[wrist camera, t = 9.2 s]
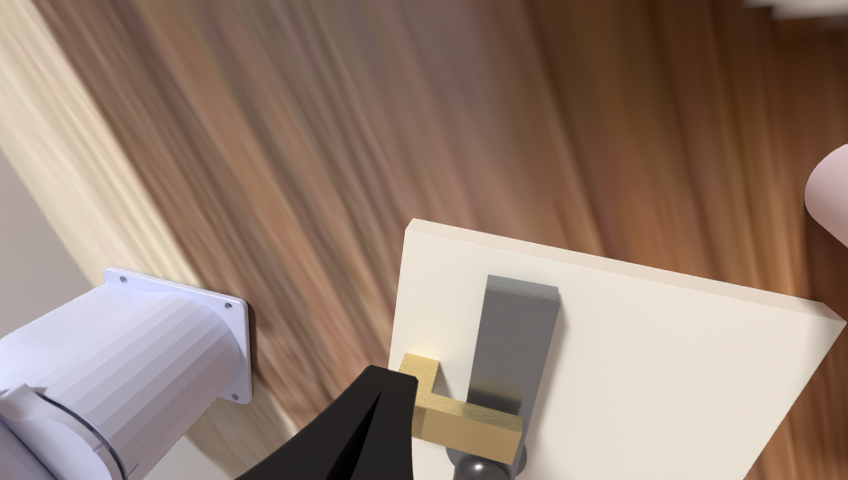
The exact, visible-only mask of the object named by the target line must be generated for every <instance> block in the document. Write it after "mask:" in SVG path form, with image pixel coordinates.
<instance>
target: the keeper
mask: <svg viewBox="0 0 848 480" xmlns="http://www.w3.org/2000/svg"><path fill="white" fill-rule="evenodd" d="M438 367H439V361H437V360H433V359H429V358H425V357H422V356H418V355H414V354H410V353H405V355H404V358H403V360H402V363H401V365H400V367H399V370H398V372H400V373H404V374H408V375H412V376H415V377H416V378H417V379H418V381H419V383H418V389H417V395H416V401H415V407H414V413H413V419H412V437H413V438H417V439H421V440H424V441H428V442H431V443H435V444H438V445H442V446H445V447H449V448H452V449H456V450H459V451H463V452H467V453H470V454H474V455H477V456H481V457H484V458H488V459H491V460H495V461H498V462H502V463H505V464H509V465H512V463H513V460H514V457H515V454H516V451H517V448H518V444H519V441H520V438H521V435H522V417H519V416H516V415H512V414H508V413H504V412H501V411H497V410H493V409H489V408H486V407H482V406H478V405H474V404H470V403H467V402H463V401H459V400H455V399H452V398H448V397H444V396H440V395H437V394H433V392H434V388H435V383H436V377H437V372H438Z"/></svg>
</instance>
